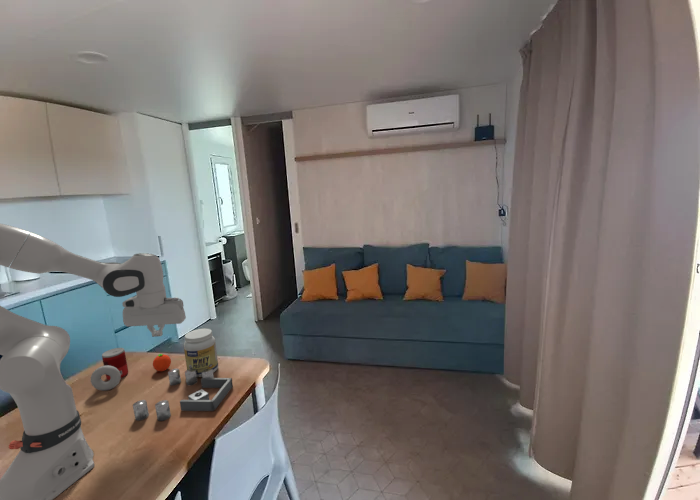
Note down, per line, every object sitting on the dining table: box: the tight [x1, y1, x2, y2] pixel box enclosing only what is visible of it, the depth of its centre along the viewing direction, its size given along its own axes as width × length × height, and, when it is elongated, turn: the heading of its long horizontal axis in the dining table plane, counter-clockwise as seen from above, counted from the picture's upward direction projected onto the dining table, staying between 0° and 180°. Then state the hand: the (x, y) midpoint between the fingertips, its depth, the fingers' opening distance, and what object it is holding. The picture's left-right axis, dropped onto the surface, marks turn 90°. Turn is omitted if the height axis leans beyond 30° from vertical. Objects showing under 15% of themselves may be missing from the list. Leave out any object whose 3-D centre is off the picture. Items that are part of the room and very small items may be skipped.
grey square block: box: [187, 388, 210, 400], centre depth 126 cm, size 5×5×3 cm
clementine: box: [152, 353, 172, 372], centre depth 150 cm, size 8×7×7 cm
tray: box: [179, 377, 234, 412], centre depth 128 cm, size 15×12×4 cm
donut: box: [90, 365, 122, 392], centre depth 137 cm, size 10×4×10 cm, turn 108°
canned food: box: [101, 347, 129, 381], centre depth 147 cm, size 8×8×11 cm
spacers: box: [132, 368, 215, 422], centre depth 128 cm, size 25×18×5 cm
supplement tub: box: [183, 328, 219, 378], centre depth 146 cm, size 12×12×17 cm
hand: (157, 335), depth 125 cm, fingers closed
